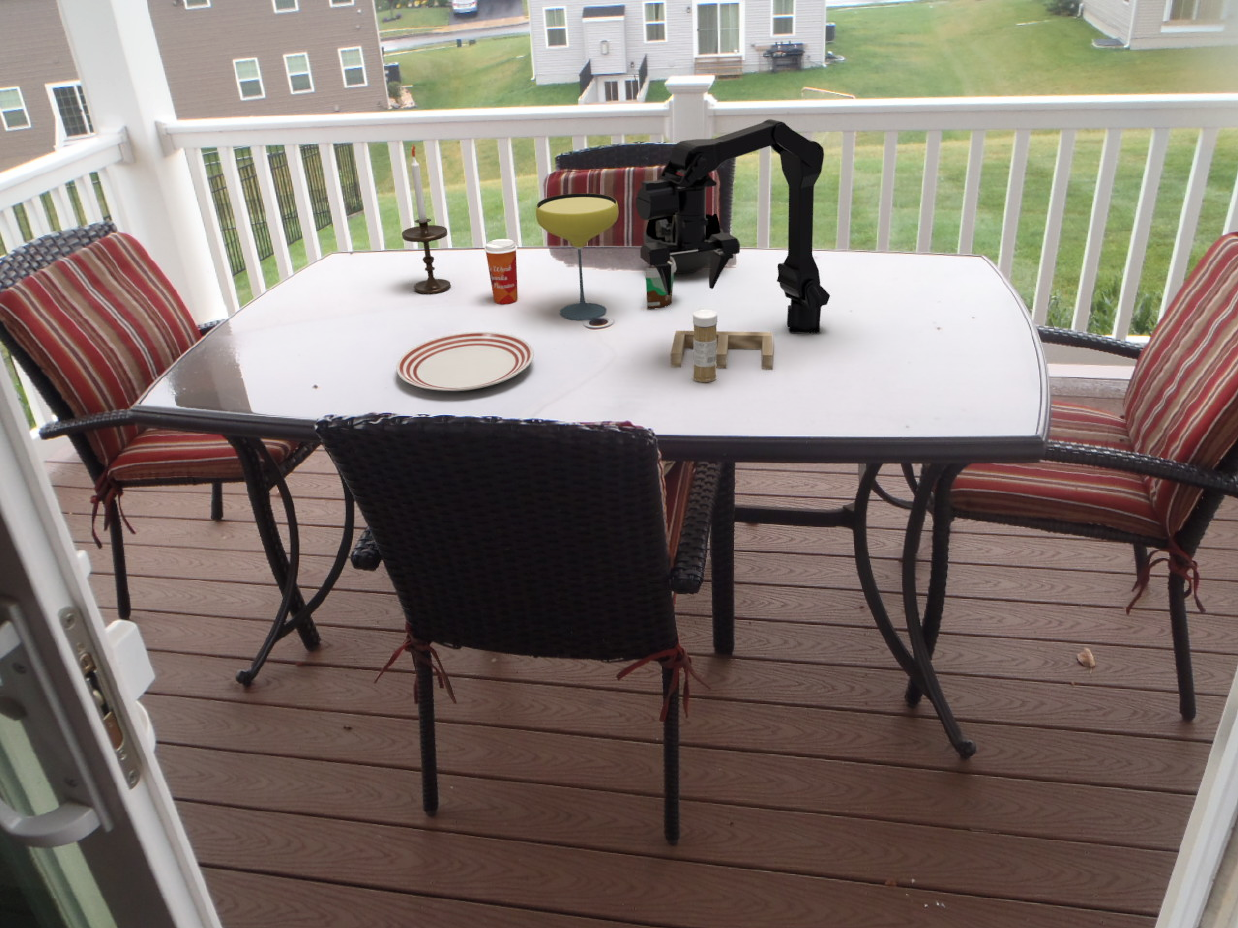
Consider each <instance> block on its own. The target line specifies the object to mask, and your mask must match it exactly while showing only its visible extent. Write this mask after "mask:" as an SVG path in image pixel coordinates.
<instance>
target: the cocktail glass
mask: <svg viewBox="0 0 1238 928" xmlns="http://www.w3.org/2000/svg"><path fill="white" fill-rule="evenodd" d="M535 217H536V222H537V224H538V225H539V226H540V227H541V228H542V229H543V230H544V231H546V232H547V233H550V234H552V235H554V236H556V237H558V238H561V239H564V240H566V241H568V242H569V243H570V244H571V246H573V248H574V249H576V250H577V252H578V254H577V255H578V270H579V273H578V274H579V302H578V303H577V302H575V303H571V304H568V305H566V306H563V307H562V308H561V309H560V310H559V315H560V317H562V318H564V319H567V320H571V321H589V320H594V319H598V318H600V317H603V316H604V315H606V313H607V308H606V307H605V306H604V305H603V304H600V303H595V302H586V298H585V294H584V293H585V291H584V280H583V279H584V278H583V277H584V276H583V265H582V250H583V249H584V248H585V246H587V244H588V243H589V241H590V240H591V239H593V238H594V237H596V236H598V235H601V234H602V233H605V232H606V231H607V230H609V229H610V228H611V227H613V225H614V224H615V223H616V222H617V220H618V219H619V205H618V201H617V199H616V198H614V197H612V196H610V195H607V194H600V193H590V192H589V193H582V192H581V193H580V192H578V193H566V194H559V195H554V196H550V197H547V198H543V199H542V200H539V201H538V202H537V204H536V205H535Z"/></svg>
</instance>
